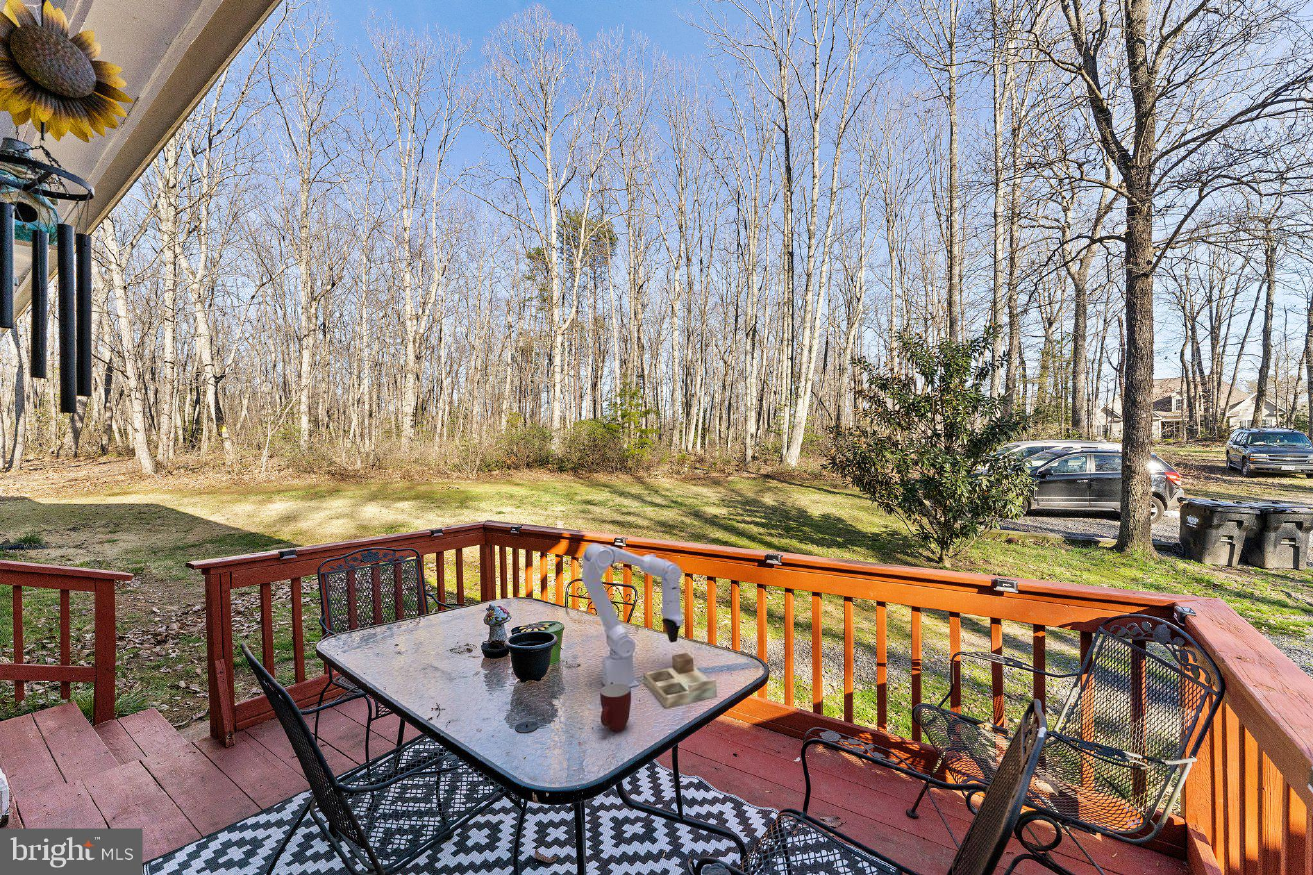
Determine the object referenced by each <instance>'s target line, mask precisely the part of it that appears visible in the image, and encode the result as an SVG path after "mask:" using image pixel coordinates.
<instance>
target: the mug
mask: <svg viewBox="0 0 1313 875" xmlns="http://www.w3.org/2000/svg"><path fill="white" fill-rule="evenodd" d="M631 688H632V687H629V686H628V685H626V684H621V683H615V684H609V685H606V686H605V685H604V686H603V687H602V688H601V689H600V690H599V692H600V693H599V694H600V698H599V700H600V706H601V714H600V723H601V725H602V726H603V727H606V728H607V727H608V729H609V730H610V731H612V732H621V731H623V730H624V729H625V728H626V725H627V724H628V722H629V719H630V714H631V713H630V712H631V704H632V689H631Z"/></svg>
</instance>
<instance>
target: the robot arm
mask: <svg viewBox="0 0 1313 875" xmlns="http://www.w3.org/2000/svg"><path fill="white" fill-rule="evenodd" d="M656 556H657V555H656V554H653V553H650V554H645V555H643V556H640V555H639V554H638V555H637V554H634V553H632V552H629V551H628V550H624V549H622V548H619V547H615V546H612V545H607V544H600V543H599V542H598V543H597V542H592V543H590V544H589V545H588V546H587V547H586V548H585V550H584V552H583V554H582V556H581V557H582V573H581V580H582V583H583V584H584V587H585V590H586V592H587V593H588V596H589V597H590V600H591V602H592V604H593V606H594V608H595V610H596V612H597V615H598V616H599V619H600V621H601V623H602V625H603V627H604V633H605V636H606V638H605V639H606V644H607V646H608V648H610V649H609V655H607V656H605V657H602V660H601V668H602V669H601V670H602V681H601V682H602V683H603V685H604V686H606V685H609V684H615V683H621V684H626V685H628V686H629V687H630V688H632V687H637V686H639V682H638V681H637V679H636V678H635V670H634V653H635V651H636V642H635V640H634V638H632V637H631V636H629V634H628V632H627V630H626V629H625V628H624V626H623V625H622V623H621V621H620V619H619V617H618V614H617V612H616V610H615V608H614V606H613V604H612V602H611V599H610V597H609V595H608V593H607V591H606V589H605V587H604V584H603V582H602V580H601V579H602V577H603V575H604V574H605V573H606V571H607V570H608V568H610V566H612V564H614V565H616V564H618V562H622V563H626V564H628V565H629V564H630V565H633V566H636V567H638V568H639V570H640V571H641V572H642V573H644V574H647V575H650V576H653V577H656V578H660V580H661V599H662V600H661V602H662V603H661V604H662V607H660V613H661V615H662V617H663V619H661V623H662V624H663V625H664V628H665V630H666V634H667V638H668V641H669V643H676V642H677V641H678V637H679V631H680V629H681V626H684V625H685V624H684V618H683V617H682V616H683V615H684V614H685V612H684V611H683V610H681V594H680V593H681V592H680V580H681V578H682V576H683V571H682V570H681V567H680V565H678V564H677V563H674V562H672V561H669V559H666V558H664V559H663V558H659V557H656Z"/></svg>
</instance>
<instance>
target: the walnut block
mask: <svg viewBox="0 0 1313 875" xmlns="http://www.w3.org/2000/svg"><path fill="white" fill-rule="evenodd" d="M671 659H672V660H671V663H672V668H673V669H674V670H675V671H676V672H677V673H678V674H683V673H688V672H693V671H694V667H695V666H694V658H693V657H692V656H691V655H690V654H689V653H688V652H685V653H678V654H673V655H672V656H671Z"/></svg>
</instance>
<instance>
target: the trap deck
mask: <svg viewBox="0 0 1313 875" xmlns="http://www.w3.org/2000/svg"><path fill="white" fill-rule="evenodd" d="M643 684H644V685H645V686H646V688H647V689H648V688H649V689H648V690H649V691H650V692H651V694H652V695H653V696H654V697H655V699H657V701H658V702H659V703H660V704H661V705H662V706H663V708H664V709H665V710H666V709H671V708H674V707H678V706H684V705H687V704H691V703H696V702H700V701H703V700H708V699H713V698H714V699H715V698H718V694H717V693H718V692H717V691H718V690H717V679H716V678H713V679H709V678H708V677H707V676H705V675H704V674H703V673H702V672H701V671H699V669H697V668H696V667H695V666H694V671H693V672H688V673H683V674H678V673H677V672H676V671H675V670H674V669H673V667H670V668H664V669H659V670H655V671H651V672H645V673H643Z"/></svg>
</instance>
